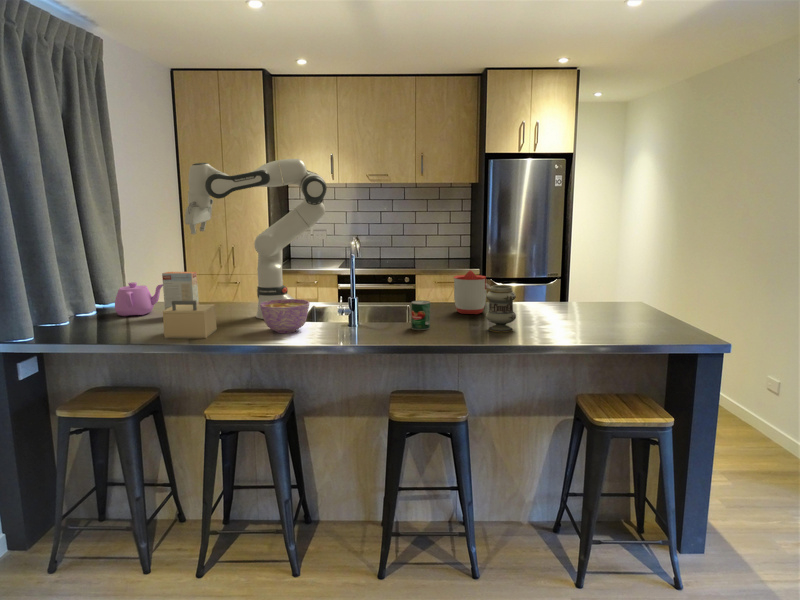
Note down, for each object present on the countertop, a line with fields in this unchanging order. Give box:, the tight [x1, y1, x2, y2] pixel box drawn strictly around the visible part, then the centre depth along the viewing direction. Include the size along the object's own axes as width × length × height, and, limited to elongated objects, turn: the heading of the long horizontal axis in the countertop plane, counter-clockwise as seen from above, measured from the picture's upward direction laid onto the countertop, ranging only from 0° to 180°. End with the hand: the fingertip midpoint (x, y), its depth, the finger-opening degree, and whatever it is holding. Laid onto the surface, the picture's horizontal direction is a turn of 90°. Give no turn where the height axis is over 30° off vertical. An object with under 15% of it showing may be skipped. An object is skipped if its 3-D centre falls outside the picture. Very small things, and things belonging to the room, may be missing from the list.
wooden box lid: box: [162, 300, 216, 314], centre depth 231 cm, size 16×14×5 cm
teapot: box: [114, 282, 163, 317], centre depth 273 cm, size 23×21×15 cm
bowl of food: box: [260, 298, 310, 334], centre depth 237 cm, size 20×20×12 cm
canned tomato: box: [410, 299, 431, 331], centre depth 241 cm, size 8×8×11 cm
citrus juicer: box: [453, 270, 491, 315], centre depth 273 cm, size 16×17×20 cm
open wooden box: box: [162, 306, 218, 339], centre depth 232 cm, size 16×14×10 cm
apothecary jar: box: [485, 284, 517, 333], centre depth 237 cm, size 12×12×18 cm
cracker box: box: [161, 271, 200, 310], centre depth 266 cm, size 14×6×21 cm, turn 84°
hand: (197, 232), depth 254 cm, fingers open, 8 cm apart
